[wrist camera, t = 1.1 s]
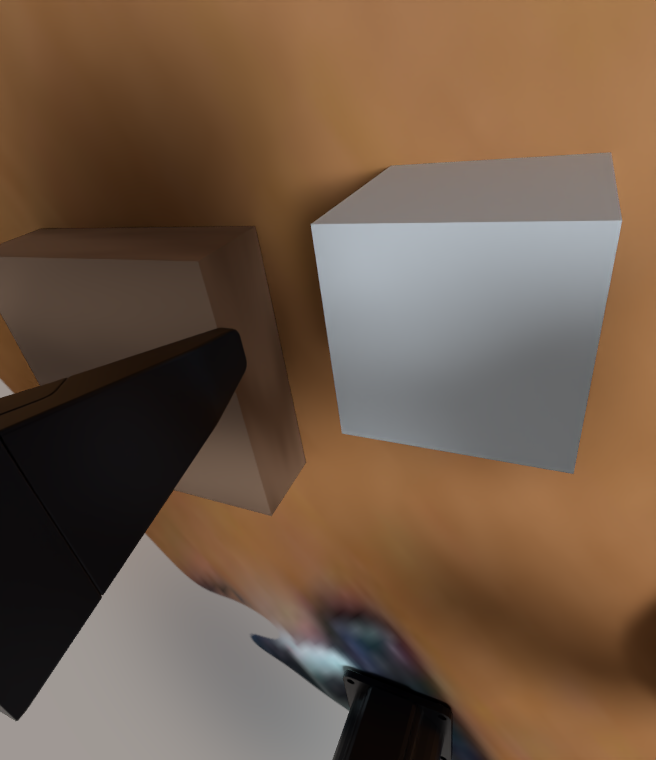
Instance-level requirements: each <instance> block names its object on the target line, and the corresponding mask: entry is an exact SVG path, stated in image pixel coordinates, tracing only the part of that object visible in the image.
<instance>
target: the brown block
mask: <svg viewBox="0 0 656 760" xmlns="http://www.w3.org/2000/svg"><path fill="white" fill-rule="evenodd" d="M0 313H1V315H2V317H3V319H4V321H5V322H6V324H7V326H8V328H9V330H10V331H11V333H12V335H13V337H14V339H15V341H16V342H17V344H18V346H19V348H20V350H21V351H22V353H23V355H24V357H25V359H26V361H27V362H28V364H29V366H30V368H31V370H32V372H33V373H34V375H35V377H36V379H37V381H38V382H39V384H40V386H41V385H44V384H47V383H51V382H54V381H57V380H60V379H63V378H69V377H70V376H72V375H75V374H78V373H81V372H84V371H88V370H91V369H94V368H97V367H100V366H103V365H106V364H109V363H112V362H115V361H118V360H121V359H124V358H127V357H130V356H133V355H137V354H140V353H143V352H146V351H149V350H152V349H155V348H158V347H161V346H164V345H167V344H170V343H173V342H176V341H179V340H182V339H186V338H189V337H192V336H195V335H198V334H201V333H204V332H207V331H210V330H213V329H216V328H220V327H223V328H233V329H236V330H237V331H238V332H239V334H240V336H241V340H242V344H243V348H244V352H245V355H246V359H247V368H246V371H245V374H244V375H243V377H242V379H241V381H240V383H239V385H238V387H237V389H236V391H235V392H234V394H233V396H232V398H231V400H230V402H229V404H228V406H227V408H226V410H225V411H224V413H223V415H222V417H221V419H220V420H219V422H218V424H217V425H216V427H215V429H214V430H213V432H212V433H211V435H210V436H209V438H208V439H207V441H206V442H205V444H204V445H203V447H202V448H201V450H200V451H199V453H198V454H197V456H196V457H195V459H194V460H193V462H192V463H191V465H190V466H189V468H188V469H187V471H186V472H185V474H184V475H183V477H182V478H181V480H180V481H179V483H178V484H177V486H176V487H175V489H174V490H176V491H180V492H183V493H187V494H191V495H195V496H198V497H202V498H206V499H210V500H213V501H217V502H221V503H225V504H228V505H232V506H236V507H240V508H243V509H247V510H251V511H255V512H258V513H262V514H266V515H270V516H272V515H273V513H274V511H275V510H276V508H277V507H278V505H279V504H280V502H281V501H282V499H283V498H284V496H285V494H286V493H287V491H288V490H289V488H290V487H291V485H292V484H293V482H294V480H295V479H296V477H297V476H298V474H299V473H300V471H301V470H302V468H303V466H304V465H305V463H306V461H305V456H304V452H303V447H302V442H301V438H300V433H299V428H298V424H297V419H296V414H295V410H294V405H293V400H292V396H291V391H290V386H289V382H288V377H287V372H286V368H285V363H284V358H283V354H282V349H281V344H280V340H279V335H278V330H277V326H276V321H275V316H274V312H273V307H272V302H271V298H270V293H269V288H268V284H267V279H266V274H265V270H264V265H263V260H262V256H261V251H260V246H259V242H258V237H257V232H256V228H255V226H228V227H144V228H60V229H38V230H36V231H33V232H31V233H28V234H25V235H23V236H20V237H17V238H15V239H12V240H10V241H7V242H4V243H2V244H0Z"/></svg>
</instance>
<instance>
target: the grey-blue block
mask: <svg viewBox="0 0 656 760" xmlns="http://www.w3.org/2000/svg"><path fill="white" fill-rule="evenodd" d="M621 223H622V217H621V211H620V205H619V198H618V192H617V186H616V180H615V173H614V167H613V161H612V155H611V152H610V153H593V154H577V155H560V156H544V157H527V158H511V159H494V160H477V161H461V162H444V163H428V164H411V165H395V166H390V167H389V168H387V169H386V170H384V171H383V172H382V173H380V174H379V175H378V176H376V177H375V178H373V179H372V180H371V181H369V182H368V183H367V184H365V185H364V186H362V187H361V188H360V189H358V190H357V191H356V192H354V193H353V194H351V195H350V196H349V197H347V198H346V199H345V200H343V201H342V202H340V203H339V204H338V205H336V206H335V207H334V208H332V209H331V210H329V211H328V212H327V213H325V214H324V215H323V216H321V217H320V218H319V219H317V220H316V221H314V222H313V223H312V224H311V230H312V236H313V243H314V250H315V256H316V263H317V270H318V276H319V283H320V290H321V296H322V303H323V310H324V316H325V323H326V330H327V336H328V343H329V350H330V356H331V363H332V370H333V376H334V383H335V390H336V396H337V403H338V410H339V416H340V423H341V430H342V433H343V434H348V435H354V436H360V437H366V438H371V439H377V440H383V441H389V442H394V443H400V444H406V445H411V446H417V447H423V448H429V449H434V450H440V451H446V452H452V453H457V454H463V455H469V456H474V457H480V458H486V459H492V460H497V461H503V462H509V463H514V464H520V465H526V466H532V467H537V468H543V469H549V470H555V471H560V472H566V473H572V474H573V473H574V468H575V463H576V458H577V452H578V447H579V442H580V437H581V432H582V426H583V421H584V416H585V411H586V406H587V400H588V395H589V390H590V385H591V379H592V374H593V369H594V364H595V359H596V353H597V348H598V343H599V338H600V333H601V327H602V322H603V317H604V312H605V307H606V301H607V296H608V291H609V286H610V281H611V275H612V270H613V265H614V260H615V255H616V249H617V244H618V239H619V234H620V228H621Z"/></svg>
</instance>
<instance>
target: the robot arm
mask: <svg viewBox="0 0 656 760" xmlns="http://www.w3.org/2000/svg"><path fill="white" fill-rule="evenodd" d="M246 368H247V359H246V355H245V352H244V348H243V344H242V340H241V336H240V334H239V332H238V331H237V330H236V329H233V328H223V327H220V328H216V329H213V330H210V331H207V332H204V333H201V334H198V335H195V336H192V337H189V338H186V339H182V340H179V341H176V342H173V343H170V344H167V345H164V346H161V347H158V348H155V349H152V350H149V351H146V352H143V353H140V354H137V355H133V356H130V357H127V358H124V359H121V360H118V361H115V362H112V363H109V364H106V365H103V366H100V367H97V368H94V369H91V370H88V371H84V372H81V373H78V374H75V375H72V376H70V377H69V378H63V379H60V380H57V381H54V382H51V383H47V384H44V385H41V386H38V387H35V388H32V389H28V390H25V391H22V392H19V393H15V394H12V395H9V396H5V397H2V398H0V711H1V712H2V713H4V714H5V715H7V716H8V717H10V718H12V719H14V720H15V721H18V720H19V719H20V717H21V716H22V715H23V714H24V713H25V711H26V710H27V709H28V707H29V706H30V704H31V703H32V701H33V700H34V698H35V697H36V695H37V694H38V692H39V691H40V690H41V688H42V687H43V685H44V683H45V682H46V681H47V679H48V678H49V676H50V674H51V673H52V672H53V670H54V669H55V667H56V666H57V664H58V663H59V661H60V660H61V658H62V657H63V655H64V653H65V652H66V651H67V649H68V648H69V646H70V644H71V643H72V642H73V640H74V639H75V637H76V636H77V634H78V633H79V631H80V630H81V628H82V627H83V625H84V624H85V622H86V621H87V619H88V618H89V616H90V615H91V613H92V612H93V610H94V608H95V607H96V606H97V604H98V603H99V601H100V600H101V598H102V596H101V595H103V594H104V593H105V592H106V590H107V589H108V587H109V585H110V584H111V583H112V581H113V579H114V578H115V577H116V575H117V573H118V572H119V571H120V569H121V568H122V566H123V565H124V563H125V562H126V560H127V558H128V557H129V556H130V554H131V553H132V551H133V550H134V548H135V547H136V545H137V544H138V542H139V540H140V539H141V538H142V536H143V535H144V533H145V532H146V530H147V529H148V527H149V526H150V524H151V523H152V521H153V520H154V518H155V517H156V515H157V514H158V512H159V511H160V509H161V508H162V506H163V505H164V503H165V502H166V501H167V499H168V498H169V496H170V495H171V493H172V492H173V490H174V489H175V487H176V486H177V484H178V483H179V481H180V480H181V478H182V477H183V475H184V474H185V472H186V471H187V469H188V468H189V466H190V465H191V463H192V462H193V460H194V459H195V457H196V456H197V454H198V453H199V451H200V450H201V448H202V447H203V445H204V444H205V442H206V441H207V439H208V438H209V436H210V435H211V433H212V432H213V430H214V429H215V427H216V425H217V424H218V422H219V420H220V419H221V417H222V415H223V413H224V411H225V410H226V408H227V406H228V404H229V402H230V400H231V398H232V396H233V394H234V392H235V391H236V389H237V387H238V385H239V383H240V381H241V379H242V377H243V375H244V374H245V371H246ZM343 681H344V685H345V689H346V693H347V698H348V702H349V706H350V711H349V714H348V717H347V720H346V723H345V726H344V728H343V731H342V734H341V737H340V740H339V743H338V745H337V748H336V751H335V754H334V757H333V760H451V759H452V729H453V713H452V711H451V710H450V709H448V708H447V707H445V706H442V705H440V704H437V703H434V702H432V701H429V700H427V699H424V698H421V697H419V696H416V695H414V694H411V693H408V692H406V691H403V690H401V689H398V688H395V687H393V686H390V685H388V684H385V683H382V682H380V681H377V680H375V679H372V678H369V677H367V676H364V675H362V674H359V673H356V672H354V671H351V670H346V671H345V674H344V676H343Z"/></svg>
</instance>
